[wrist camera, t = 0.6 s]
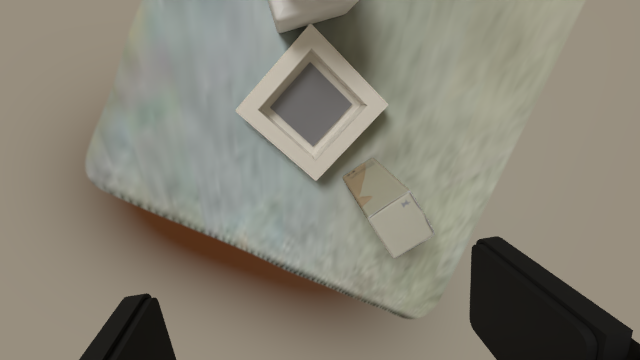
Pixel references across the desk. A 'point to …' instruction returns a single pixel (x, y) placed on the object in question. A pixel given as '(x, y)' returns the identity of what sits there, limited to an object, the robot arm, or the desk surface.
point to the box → (389, 207)
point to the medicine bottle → (306, 12)
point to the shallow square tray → (312, 103)
